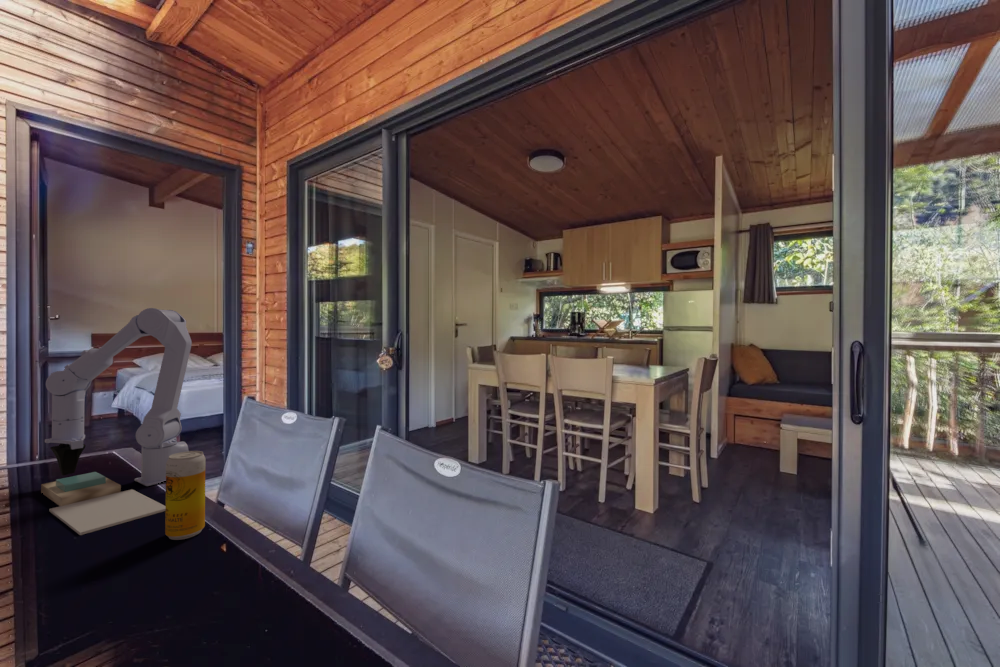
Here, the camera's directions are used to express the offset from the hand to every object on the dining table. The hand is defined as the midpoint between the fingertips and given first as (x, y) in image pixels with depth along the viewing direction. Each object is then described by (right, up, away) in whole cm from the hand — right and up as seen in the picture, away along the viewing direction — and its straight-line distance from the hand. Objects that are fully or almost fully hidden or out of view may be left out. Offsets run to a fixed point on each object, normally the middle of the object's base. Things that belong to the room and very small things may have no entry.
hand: (67, 473), depth 107 cm
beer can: (+48, -3, -25) cm, 54 cm away
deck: (+8, -3, -5) cm, 10 cm away
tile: (+8, -1, -5) cm, 10 cm away
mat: (+24, -3, -15) cm, 29 cm away
